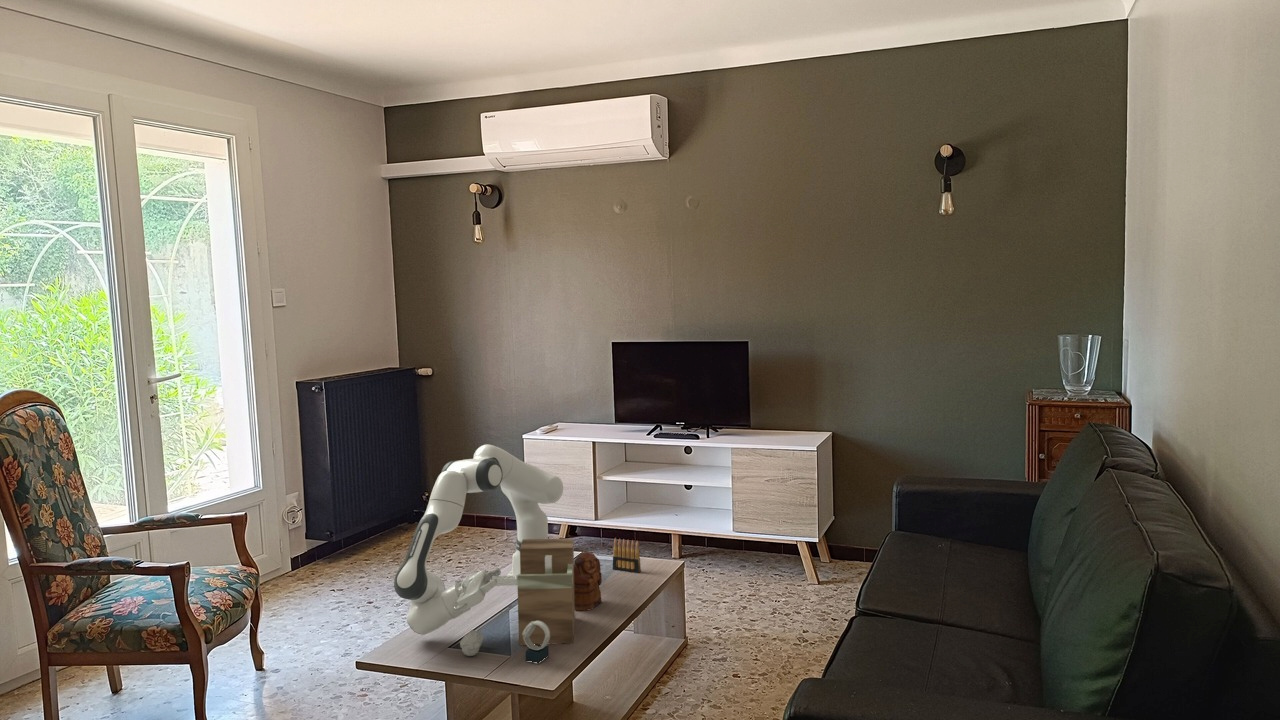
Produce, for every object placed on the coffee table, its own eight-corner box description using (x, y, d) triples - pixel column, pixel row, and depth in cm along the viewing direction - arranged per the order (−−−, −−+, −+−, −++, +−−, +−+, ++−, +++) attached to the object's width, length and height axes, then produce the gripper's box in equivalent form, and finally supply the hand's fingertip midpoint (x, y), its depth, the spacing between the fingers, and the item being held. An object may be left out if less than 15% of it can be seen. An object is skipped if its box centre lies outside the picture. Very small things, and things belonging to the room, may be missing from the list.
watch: (530, 652, 255) (529, 616, 254) (554, 657, 252) (553, 620, 251) (519, 660, 250) (518, 623, 249) (543, 665, 247) (543, 627, 246)
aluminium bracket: (492, 582, 265) (491, 556, 264) (552, 580, 266) (552, 555, 265) (491, 585, 262) (490, 559, 261) (552, 584, 263) (551, 558, 262)
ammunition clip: (612, 569, 327) (612, 538, 326) (614, 568, 329) (614, 536, 328) (638, 573, 323) (638, 541, 322) (640, 571, 325) (640, 540, 323)
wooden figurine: (585, 613, 285) (584, 559, 283) (569, 609, 288) (568, 556, 286) (605, 601, 295) (604, 549, 293) (590, 598, 298) (589, 546, 296)
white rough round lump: (487, 654, 254) (487, 631, 254) (467, 662, 250) (466, 638, 249) (476, 648, 259) (475, 625, 258) (455, 655, 254) (454, 632, 253)
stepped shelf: (524, 619, 281) (522, 539, 278) (574, 617, 281) (573, 538, 279) (518, 645, 261) (516, 559, 258) (573, 643, 261) (571, 558, 259)
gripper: (446, 603, 253) (488, 579, 253) (458, 579, 273) (496, 556, 273) (458, 621, 253) (499, 597, 253) (468, 596, 274) (507, 573, 274)
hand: (498, 576), depth 263 cm, fingers open, 8 cm apart
